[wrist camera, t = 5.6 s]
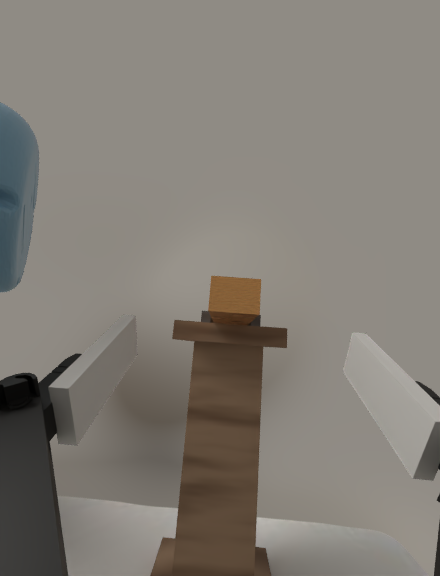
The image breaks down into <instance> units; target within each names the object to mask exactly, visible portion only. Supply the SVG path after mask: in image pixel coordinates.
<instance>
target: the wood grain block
mask: <svg viewBox="0 0 440 576" xmlns="http://www.w3.org/2000/svg"><path fill="white" fill-rule="evenodd" d="M260 292H261V279H249V278H234V277H221V276H211V288H210V298H209V310H208V311H209V313H210V315H211V318H212V320H213V322H214V323H221V324H234V325H248V324H249V323H250V322H252V321H253V320H254V319H255V318H256V317H257V316H259V314H260Z"/></svg>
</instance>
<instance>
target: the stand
mask: <svg viewBox="0 0 440 576" xmlns="http://www.w3.org/2000/svg"><path fill="white" fill-rule="evenodd" d="M260 318H261V317H260V315H259V316H257V317H256V318H255V319H254V320H253V321H252V322H250V323H249V324H248V325H234V324H221V323H214V322H213V320H212V318H211V315H210V313H209V311H202V317H201V322H194V321H181V320H175V321H174V330H173V339H177V340H186V341H194V352H193V361H192V372H191V382H190V393H189V403H188V414H187V424H186V435H185V445H184V456H183V466H182V476H181V486H180V496H179V507H178V517H177V527H176V538H175V539H173V538H163V539H162V542H161V545H160V548H159V551H158V554H157V557H156V561H155V564H154V567H153V570H152V573H151V576H271V573H270V568H269V563H268V558H267V553H266V548H259V547H255V542H256V515H257V491H258V466H259V439H260V415H261V414H260V413H261V389H262V362H263V347H280V348H287V329H286V328H272V327H260Z"/></svg>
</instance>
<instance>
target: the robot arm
mask: <svg viewBox="0 0 440 576" xmlns="http://www.w3.org/2000/svg"><path fill="white" fill-rule="evenodd" d="M38 172H39V150H38V145H37V140H36V138H35V135H34V133H33V131H32V129H31V128H30V126H29V124H28V123H27V122H26V121H25V120H24V119H23V118H22V117H21V116H20V115H19V114H18V113H17V112H15V111H14V110H12V109H11V108H10V107H8V106H6V105H4V104H3V103H1V102H0V292H7V291H10V290H12V289H13V288H15V287H16V286H17V285H18V283H20V281H21V278H22V275H23V272H24V267H25V264H26V260H27V254H28V250H29V245H30V239H31V233H32V224H33V217H34V215H33V213H34V209H35V204H36V196H37V186H38ZM137 355H138V354H137V333H136V316H134V315H123V316H121V317H120V318H119V319H118V320H117V321H116V322H115V323H114V324H113V325H112V326H111V327H110V328H109V329H108V330H107V331H106V332H105V333H104V334H103V335H102V336H101V337H100V338H99V339H98V340H97V341H95V343H93V344H92V345H91V346H90V347H89V348H88V349H87V350H86V351H85V352H84V353H83V354H74V355H72V356H70V357H68V358H67V359H65V360H64V361H63V362H62V363H61V364H59V366H58V367H56V368H55V369H54V370H53V371H52V373H49V374H48V375H47V376H46V377H45V378H44V379H43V380H42V381H41V382H39V383H38V380H37V377H36V376H35V375H34V374H31V373H21V374H15V375H12V376H9V377H6V378H5V379H3V380H1V381H0V576H68V572H67V565H66V557H65V550H64V543H63V535H62V528H61V521H60V513H59V506H58V499H57V491H56V484H55V477H54V469H53V462H52V455H51V448H50V442H49V441H50V440H51V439H52V438H53V436H54V435H55V434H56V433H57V438H58V443H59V444H65V445H75V446H77V445H78V444H79V442H80V440H81V439H82V438H83V436H84V434H85V433H86V431H87V430H88V428H89V427H90V425H91V424H92V422H93V421H94V419H95V418H96V416H97V415H98V413H99V412H100V410H101V409H102V407H103V406H104V404H105V403H106V401H107V400H108V398H109V397H110V395H111V394H112V392H113V391H114V389H115V388H116V386H117V385H118V383H119V382H120V380H121V379H122V377H123V376H124V374H125V373H126V371H127V370H128V368H129V367H130V365H131V364H132V362H133V361H134V359H135V358H136V356H137ZM343 372H344V374H345V376H346V377H347V379H348V380H349V382H350V383H351V385H352V386H353V388H354V389H355V391H356V392H357V394H358V395H359V397H360V399H361V400H362V402H363V403H364V405H365V406H366V408H367V409H368V411H369V412H370V414H371V415H372V417H373V418H374V420H375V422H376V423H377V425H378V426H379V428H380V429H381V431H382V432H383V434H384V435H385V437H386V439H387V440H388V442H389V443H390V445H391V446H392V448H393V449H394V451H395V452H396V454H397V455H398V457H399V458H400V460H401V462H402V463H403V465H404V466H405V468H406V469H407V471H408V472H409V474H410V475H411V477H412V478H413V479H422V480H432V481H433V480H434V478H435V475H436V473H437V471H438V469H439V470H440V398H439V396H438V395H437V394H435V393H434V392H433V391H432V390H431V389H430V388H428V387H427V386H425V385H423V384H422V383H420V382H417V381H414V380H413V379H412V378H411V377H410V376H409V375H407V373H406V372H405V371H404V370H403V369H402V368H401V367H399V366H398V365H397V364H396V363H395V362H394V361H393V360H392V359H391V358H390V357H389V356H388V355H387V354H386V353H385V352H384V351H383V350H382V349H381V348H380V347H379V346H378V345H377V344H376V343H375V342H374V341H373V340H372V339H371V338H370V337H369V336H368V335H367V334H365V333H354V332H353V333H352V336H351V341H350V345H349V349H348V353H347V358H346V362H345V365H344V370H343ZM437 501H438V502H440V495H439V496H438V499H437ZM434 576H440V523H439V532H438V542H437V552H436V562H435V571H434Z"/></svg>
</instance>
